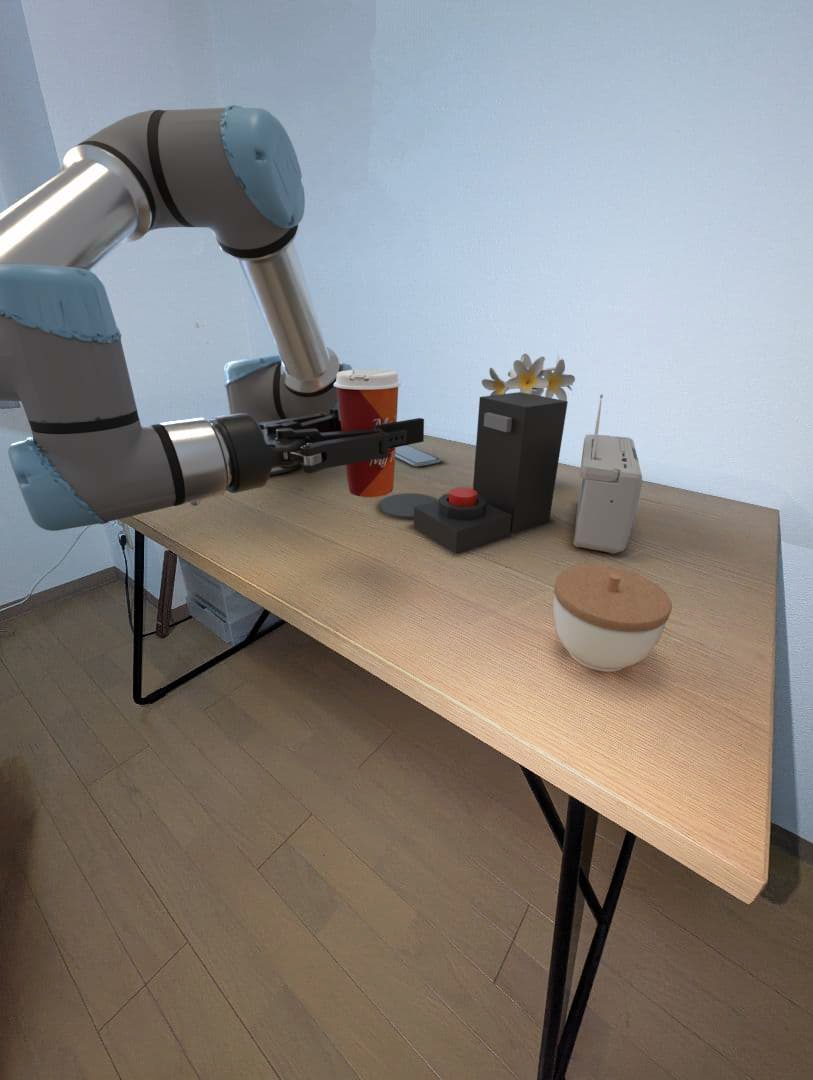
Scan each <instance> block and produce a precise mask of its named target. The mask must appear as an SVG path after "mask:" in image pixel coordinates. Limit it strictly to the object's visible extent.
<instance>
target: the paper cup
mask: <svg viewBox="0 0 813 1080" xmlns="http://www.w3.org/2000/svg"><path fill="white" fill-rule="evenodd" d="M334 386H335V387H337V395H338V404H339V413H340V422H341V430H342V431H351V430H364V429H375V425H381V424H387V423H393V422H398V404H399V403H398V400H399V387H400V386H402V383H401V381H399V377H398V373H397V371H394V370H389V369H367V368H366V369H352V370H347V371H341V372H338V373H337V377H336V382H335V383H334ZM395 448H396V447H395ZM395 448H390V449H388V457H385V458H383V459H380V460H379V459H374V460H369V461H363V462H358V463H352V464H347V465H345V472H346V480H347V485H348V486H347V487H348V491H349V493H350V494H351V495H353V496H356V497H359V498H360V497H361V498H380V497H383V496H384V497H385V496H387V495H389V494H391V493H393V490H394V483H395V465H396V457H395Z"/></svg>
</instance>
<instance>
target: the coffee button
mask: <svg viewBox="0 0 813 1080" xmlns="http://www.w3.org/2000/svg"><path fill="white" fill-rule="evenodd" d="M448 493H449V503H450V504H452V505H457V506H472V505H476V504H477V491H475V490H473V488H470V487H453V488H451V489H450V490H449V492H448Z"/></svg>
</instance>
